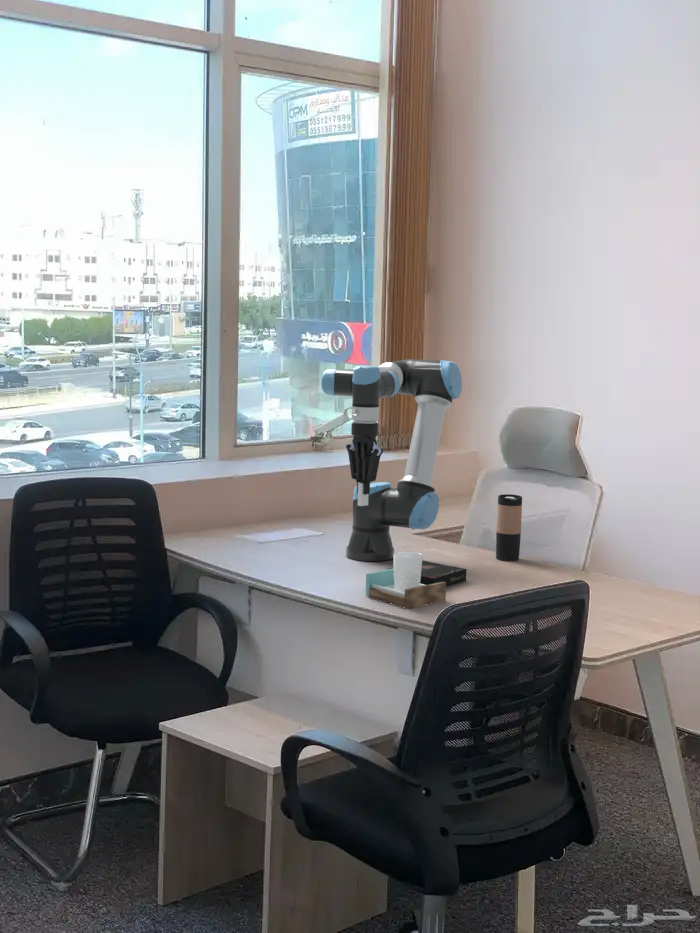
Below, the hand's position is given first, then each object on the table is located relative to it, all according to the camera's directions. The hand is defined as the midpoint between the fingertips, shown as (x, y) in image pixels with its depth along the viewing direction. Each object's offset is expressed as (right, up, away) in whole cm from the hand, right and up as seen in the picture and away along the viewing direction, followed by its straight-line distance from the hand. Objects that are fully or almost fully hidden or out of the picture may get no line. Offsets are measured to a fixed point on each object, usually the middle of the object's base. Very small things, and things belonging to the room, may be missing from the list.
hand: (362, 505), depth 328 cm
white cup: (+12, -23, -13) cm, 29 cm away
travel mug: (+46, -18, +40) cm, 63 cm away
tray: (+11, -24, -12) cm, 29 cm away
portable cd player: (+18, -23, +8) cm, 30 cm away
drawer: (+12, -25, -14) cm, 31 cm away
